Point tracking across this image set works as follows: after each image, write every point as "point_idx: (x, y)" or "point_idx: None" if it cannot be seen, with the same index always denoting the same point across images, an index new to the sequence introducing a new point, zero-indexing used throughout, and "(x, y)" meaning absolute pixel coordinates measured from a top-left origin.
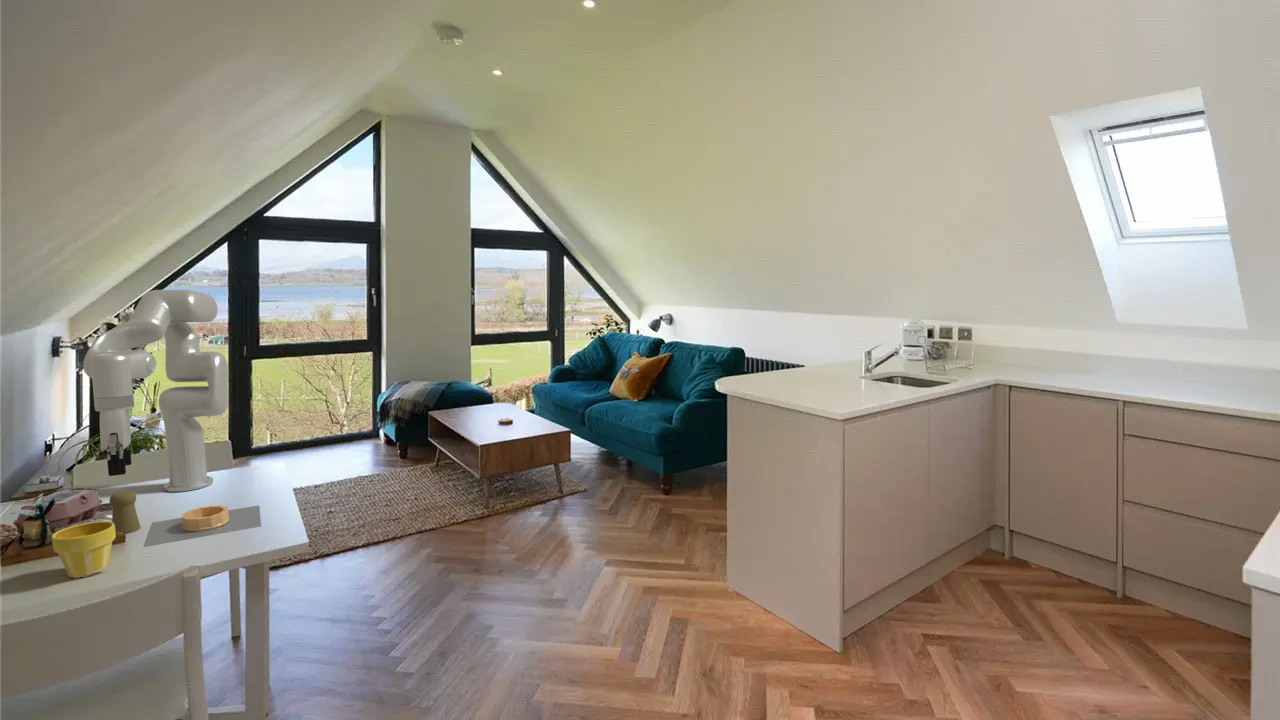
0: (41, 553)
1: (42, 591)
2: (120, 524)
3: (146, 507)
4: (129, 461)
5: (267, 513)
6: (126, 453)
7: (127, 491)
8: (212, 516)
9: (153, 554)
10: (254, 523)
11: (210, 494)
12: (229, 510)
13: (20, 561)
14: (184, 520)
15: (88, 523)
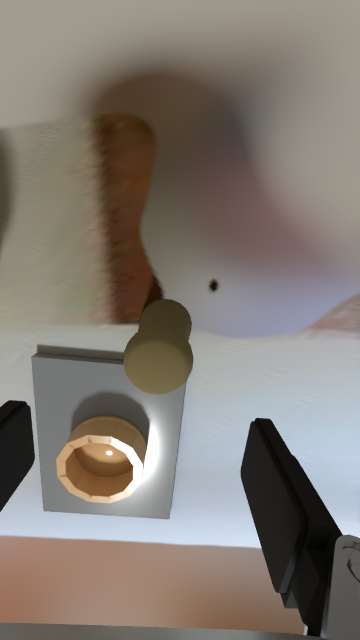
0: (137, 173)
1: None
2: (139, 326)
3: (338, 357)
4: (247, 490)
5: (133, 517)
6: (271, 551)
7: (161, 383)
8: (60, 478)
9: (8, 366)
10: (65, 505)
11: (333, 457)
12: (171, 481)
13: (105, 134)
14: (81, 434)
15: None
